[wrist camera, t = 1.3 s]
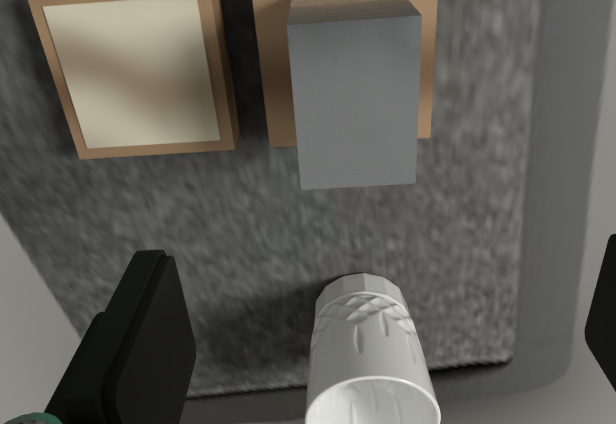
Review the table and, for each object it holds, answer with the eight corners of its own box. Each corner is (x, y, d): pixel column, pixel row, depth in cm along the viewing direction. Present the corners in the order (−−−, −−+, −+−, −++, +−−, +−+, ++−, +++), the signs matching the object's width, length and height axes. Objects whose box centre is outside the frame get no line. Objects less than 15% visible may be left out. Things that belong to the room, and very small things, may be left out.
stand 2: (254, -32, 27) (249, -26, 25) (429, -46, 27) (439, -40, 25) (272, 130, 32) (269, 147, 30) (422, 121, 31) (430, 137, 29)
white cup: (347, 359, 42) (356, 479, 34) (285, 299, 39) (277, 414, 30) (433, 315, 39) (465, 431, 31) (374, 246, 36) (392, 356, 28)
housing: (292, -6, 26) (286, 25, 20) (396, -14, 25) (422, 15, 19) (303, 128, 29) (301, 189, 23) (394, 123, 29) (415, 183, 23)
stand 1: (47, -16, 28) (23, -8, 25) (216, -29, 27) (207, -22, 25) (95, 141, 32) (78, 160, 30) (240, 132, 32) (234, 150, 30)
